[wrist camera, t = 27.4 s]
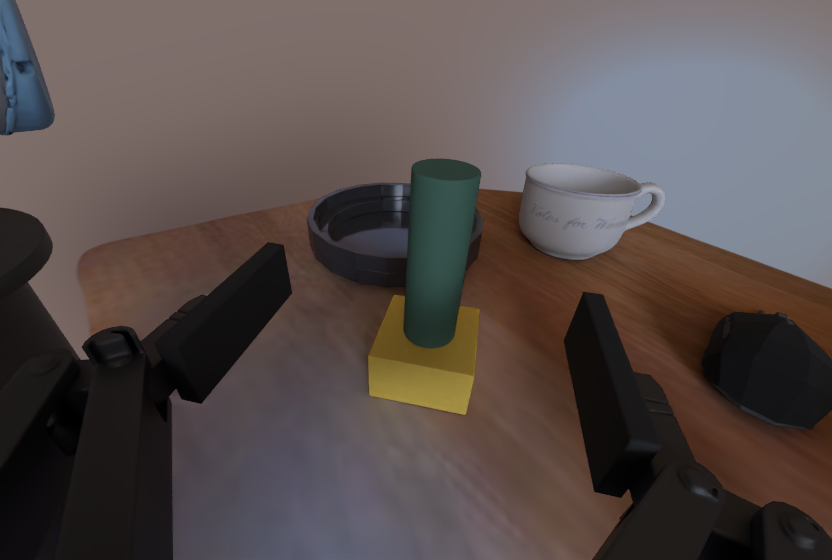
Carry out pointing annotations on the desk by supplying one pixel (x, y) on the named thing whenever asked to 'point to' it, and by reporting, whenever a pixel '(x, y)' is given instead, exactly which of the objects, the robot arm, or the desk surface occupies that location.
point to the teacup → (581, 209)
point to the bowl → (369, 233)
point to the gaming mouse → (770, 369)
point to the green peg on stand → (432, 297)
